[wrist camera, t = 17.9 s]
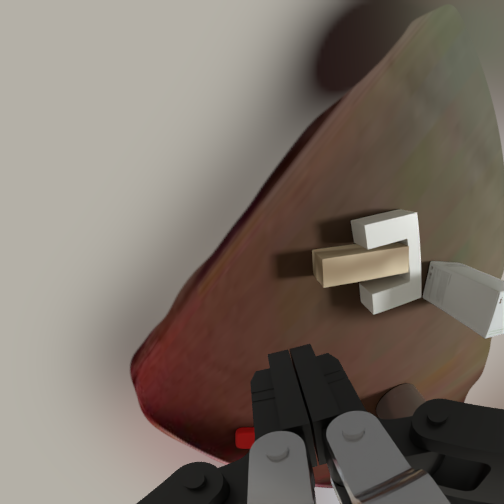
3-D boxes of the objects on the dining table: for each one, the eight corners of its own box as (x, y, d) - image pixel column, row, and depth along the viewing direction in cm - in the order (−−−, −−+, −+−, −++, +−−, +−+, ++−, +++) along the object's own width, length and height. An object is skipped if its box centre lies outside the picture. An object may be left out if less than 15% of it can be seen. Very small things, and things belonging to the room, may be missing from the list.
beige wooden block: (390, 262, 38) (408, 272, 33) (313, 274, 37) (323, 287, 33) (390, 238, 37) (409, 246, 32) (311, 249, 37) (322, 259, 32)
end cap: (405, 286, 39) (421, 297, 34) (360, 301, 39) (373, 314, 34) (399, 209, 36) (416, 212, 31) (350, 220, 36) (364, 225, 31)
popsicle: (235, 425, 44) (235, 432, 42) (317, 421, 45) (319, 428, 43) (235, 442, 45) (235, 449, 43) (312, 438, 46) (314, 445, 44)
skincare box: (420, 297, 39) (482, 341, 24) (429, 257, 38) (499, 290, 23) (453, 297, 40) (512, 334, 25) (462, 260, 38) (526, 289, 23)
